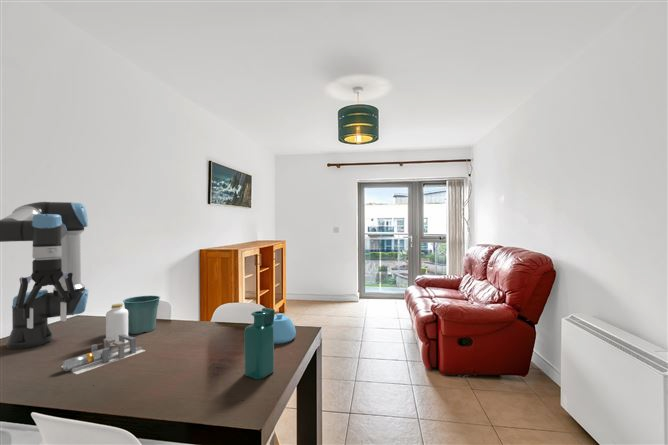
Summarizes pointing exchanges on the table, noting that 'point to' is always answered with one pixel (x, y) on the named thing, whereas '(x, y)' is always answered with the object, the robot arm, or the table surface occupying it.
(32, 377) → the table surface
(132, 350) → the collar board
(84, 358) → the tube
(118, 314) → the potion bottle
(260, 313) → the teal bottle
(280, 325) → the sugar bowl
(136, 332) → the flower pot
